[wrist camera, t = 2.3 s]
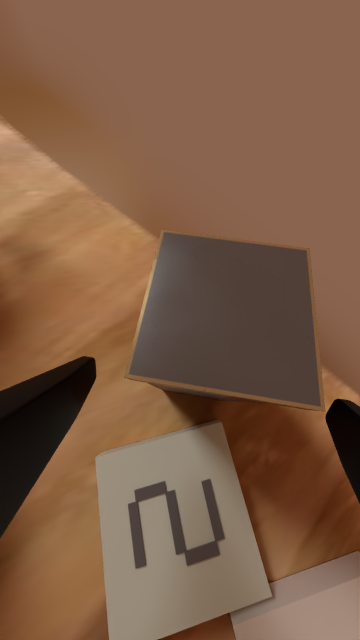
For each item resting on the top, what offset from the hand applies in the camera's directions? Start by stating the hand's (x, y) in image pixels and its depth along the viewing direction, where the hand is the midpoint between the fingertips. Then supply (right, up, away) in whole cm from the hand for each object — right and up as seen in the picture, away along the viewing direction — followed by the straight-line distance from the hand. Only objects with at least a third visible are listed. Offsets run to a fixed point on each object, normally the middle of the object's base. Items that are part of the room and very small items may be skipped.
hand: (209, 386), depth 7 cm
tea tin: (0, -1, +10) cm, 10 cm away
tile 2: (-1, -10, +6) cm, 12 cm away
